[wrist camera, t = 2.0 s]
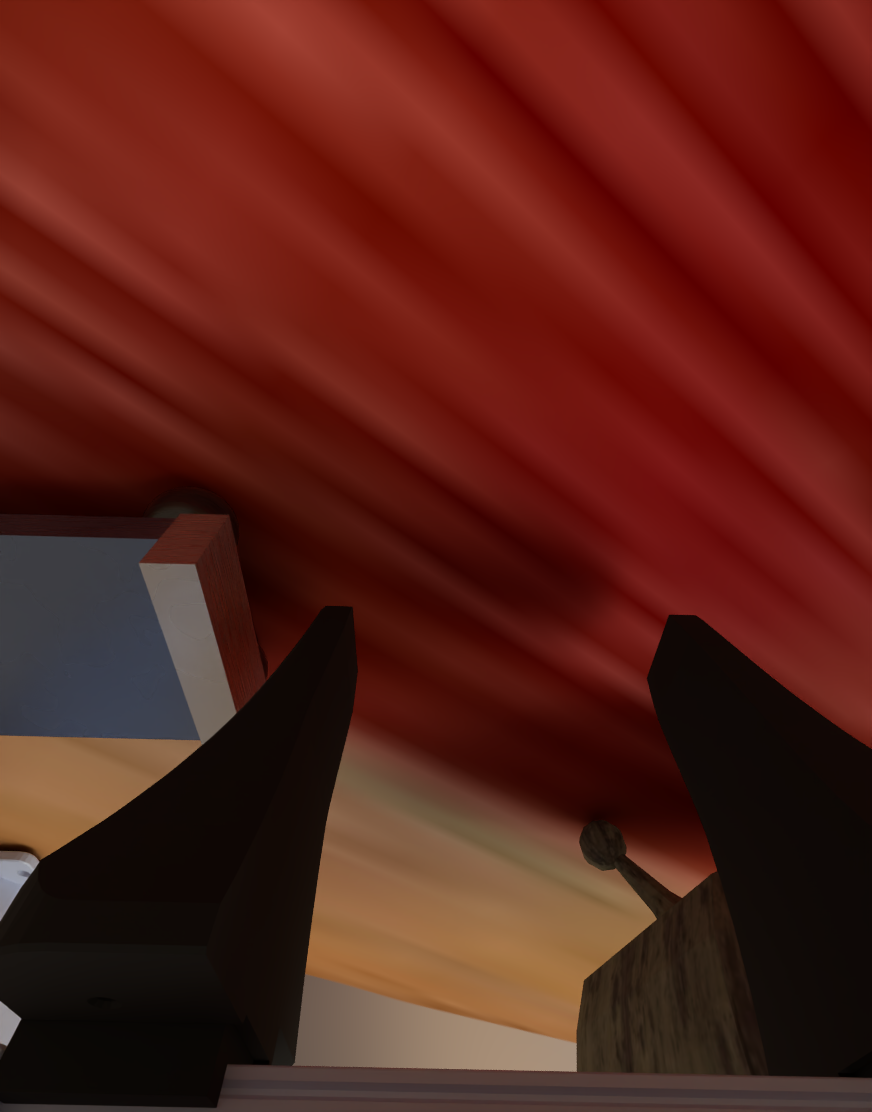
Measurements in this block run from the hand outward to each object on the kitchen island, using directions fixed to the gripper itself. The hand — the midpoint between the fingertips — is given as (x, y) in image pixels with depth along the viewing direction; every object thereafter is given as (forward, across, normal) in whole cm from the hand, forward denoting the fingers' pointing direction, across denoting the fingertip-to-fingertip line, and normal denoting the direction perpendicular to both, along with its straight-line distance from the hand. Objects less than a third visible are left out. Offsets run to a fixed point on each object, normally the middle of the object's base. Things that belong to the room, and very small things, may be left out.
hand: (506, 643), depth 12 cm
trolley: (+2, +10, 0) cm, 11 cm away
